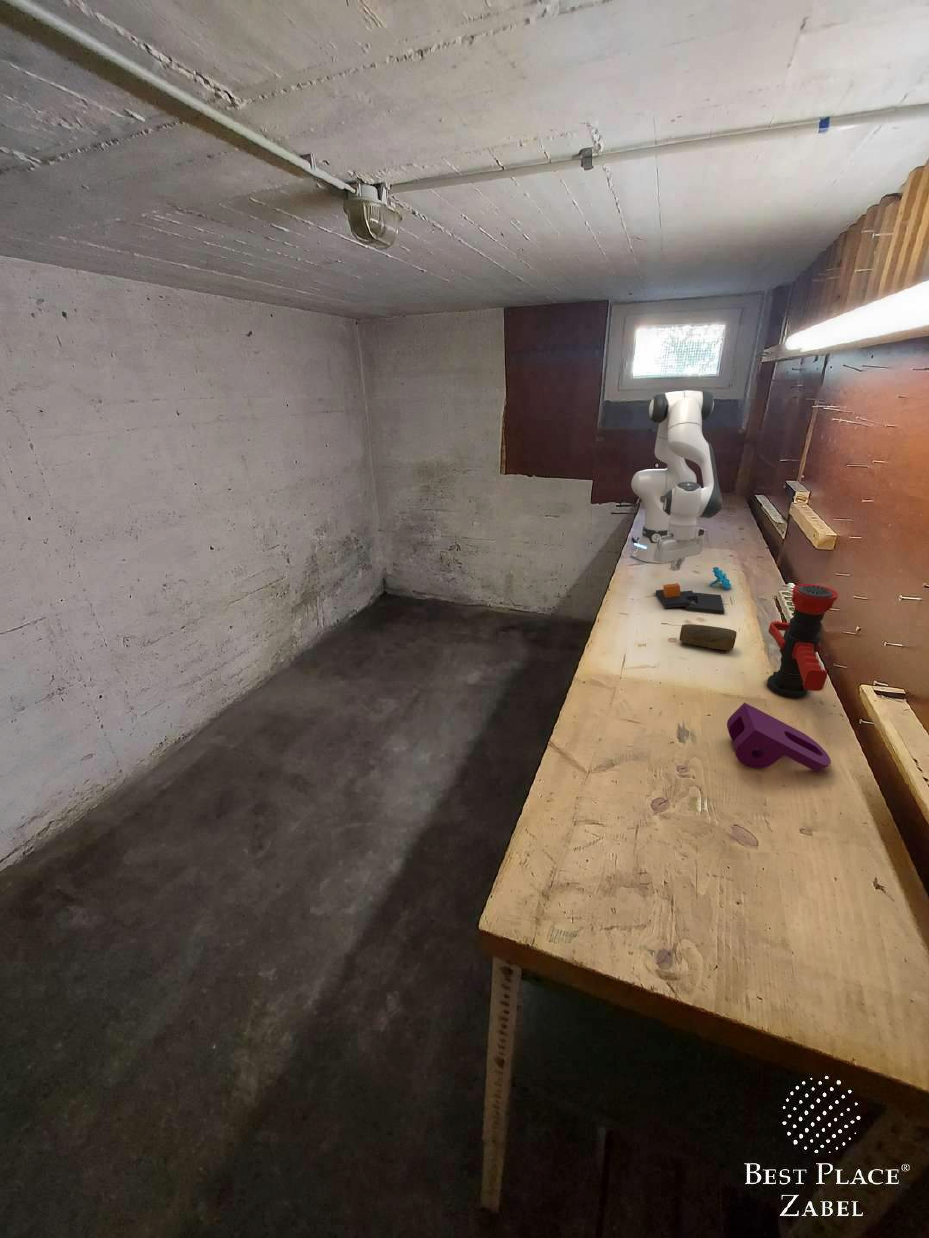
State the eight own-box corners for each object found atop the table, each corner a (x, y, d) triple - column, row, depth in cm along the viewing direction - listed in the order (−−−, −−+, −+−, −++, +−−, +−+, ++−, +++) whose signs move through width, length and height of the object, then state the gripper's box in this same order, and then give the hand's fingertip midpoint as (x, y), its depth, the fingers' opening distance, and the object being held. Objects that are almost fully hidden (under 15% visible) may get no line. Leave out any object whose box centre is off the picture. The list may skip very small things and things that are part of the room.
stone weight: (733, 644, 145) (737, 625, 142) (733, 655, 140) (738, 635, 137) (679, 636, 151) (682, 617, 148) (677, 646, 146) (681, 627, 143)
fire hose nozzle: (809, 613, 101) (780, 572, 123) (778, 718, 114) (756, 664, 135) (864, 617, 99) (825, 575, 120) (826, 725, 111) (796, 669, 132)
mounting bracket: (792, 766, 107) (719, 727, 108) (820, 742, 103) (744, 702, 104) (806, 798, 99) (727, 756, 100) (838, 773, 95) (755, 729, 96)
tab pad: (655, 593, 182) (655, 580, 180) (688, 589, 180) (688, 576, 178) (665, 608, 169) (664, 593, 167) (700, 604, 167) (700, 589, 165)
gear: (729, 590, 178) (713, 567, 180) (715, 598, 182) (699, 576, 184) (735, 584, 186) (720, 563, 188) (721, 592, 190) (706, 571, 192)
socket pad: (684, 595, 180) (684, 591, 179) (720, 598, 176) (720, 594, 175) (685, 610, 168) (685, 606, 167) (723, 614, 164) (724, 610, 163)
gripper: (666, 539, 158) (660, 578, 164) (709, 529, 165) (702, 567, 171) (651, 534, 163) (646, 573, 169) (694, 525, 171) (688, 562, 177)
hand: (675, 570), depth 170 cm, fingers closed
